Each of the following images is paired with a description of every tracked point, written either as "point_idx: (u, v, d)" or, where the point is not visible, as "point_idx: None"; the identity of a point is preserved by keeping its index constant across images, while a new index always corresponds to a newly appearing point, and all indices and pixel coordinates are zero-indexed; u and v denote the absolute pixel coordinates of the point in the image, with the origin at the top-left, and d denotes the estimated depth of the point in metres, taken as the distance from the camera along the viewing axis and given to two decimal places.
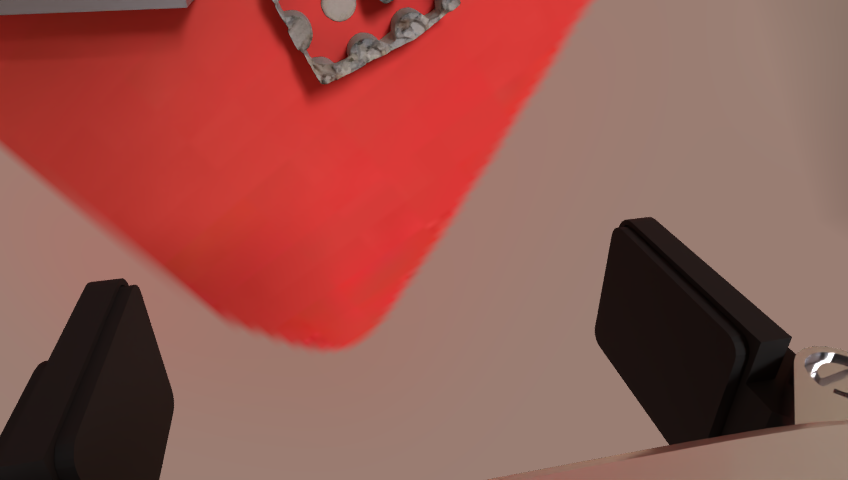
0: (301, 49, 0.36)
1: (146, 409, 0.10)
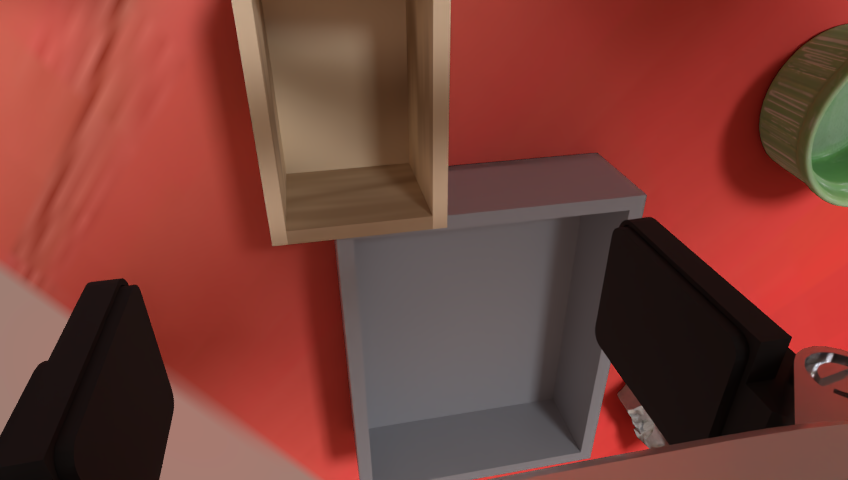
0: (644, 440, 0.41)
1: (146, 409, 0.10)
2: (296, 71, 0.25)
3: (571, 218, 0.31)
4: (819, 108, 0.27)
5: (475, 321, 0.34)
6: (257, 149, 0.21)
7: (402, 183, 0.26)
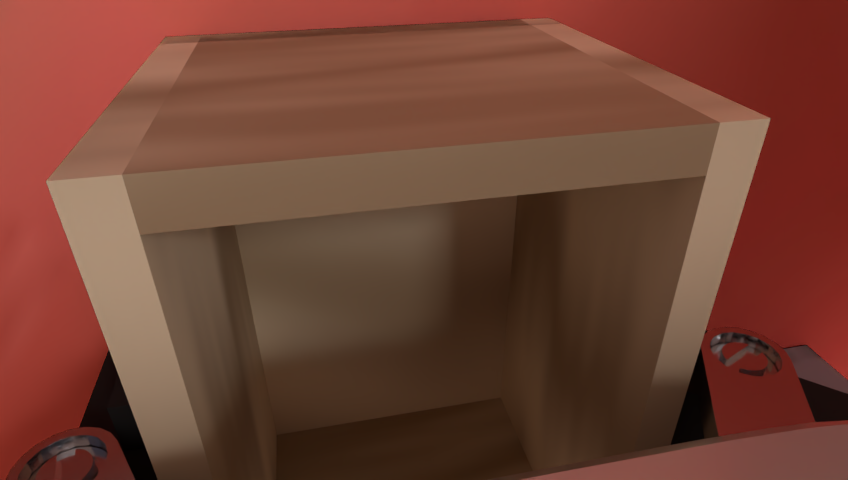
0: None
1: None
2: (295, 273, 0.12)
3: None
4: None
5: None
6: None
7: (501, 469, 0.13)
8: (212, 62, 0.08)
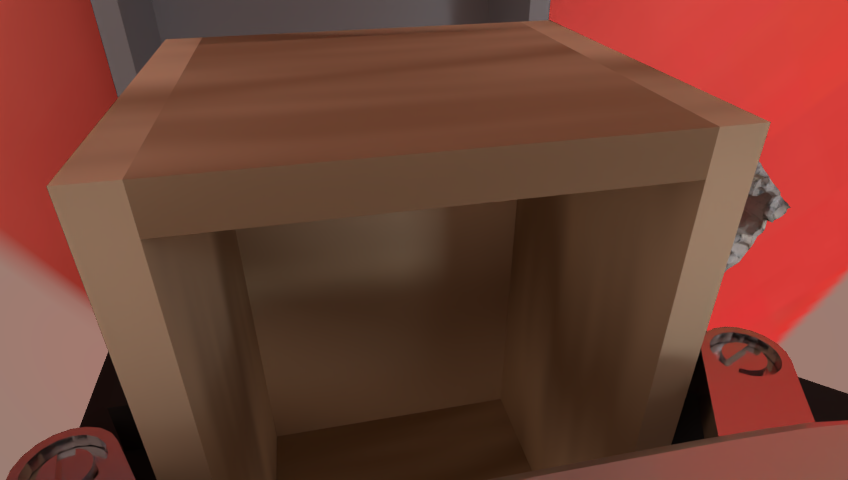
0: None
1: None
2: (295, 275, 0.12)
3: None
4: None
5: None
6: None
7: (501, 471, 0.13)
8: (212, 65, 0.08)
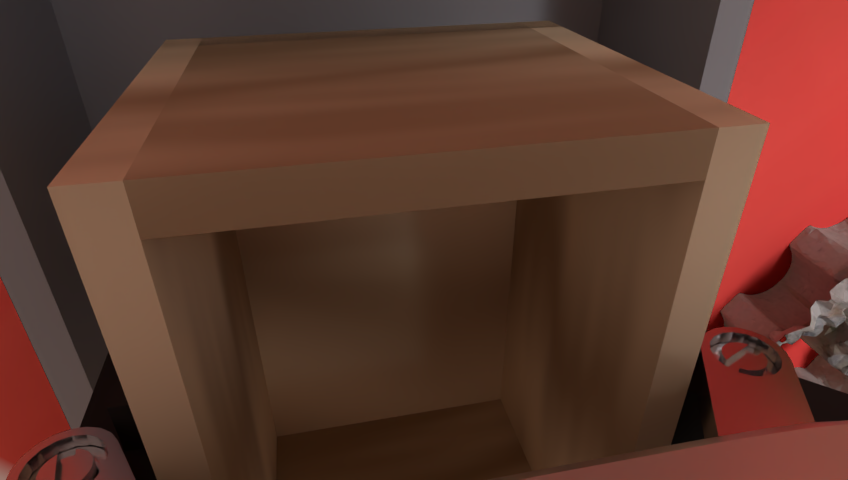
0: None
1: None
2: (295, 275, 0.12)
3: None
4: None
5: None
6: None
7: (501, 471, 0.13)
8: (212, 66, 0.08)
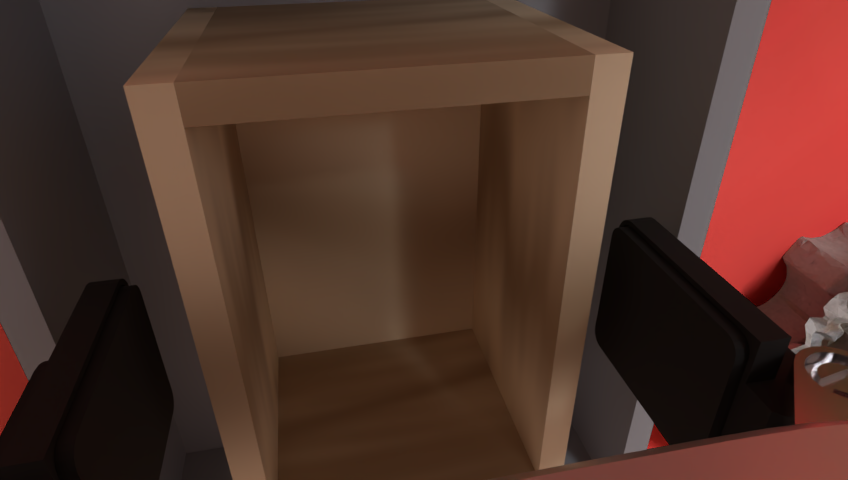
0: None
1: (146, 409, 0.10)
2: (293, 210, 0.15)
3: None
4: None
5: None
6: (218, 419, 0.10)
7: (469, 381, 0.16)
8: (227, 24, 0.11)
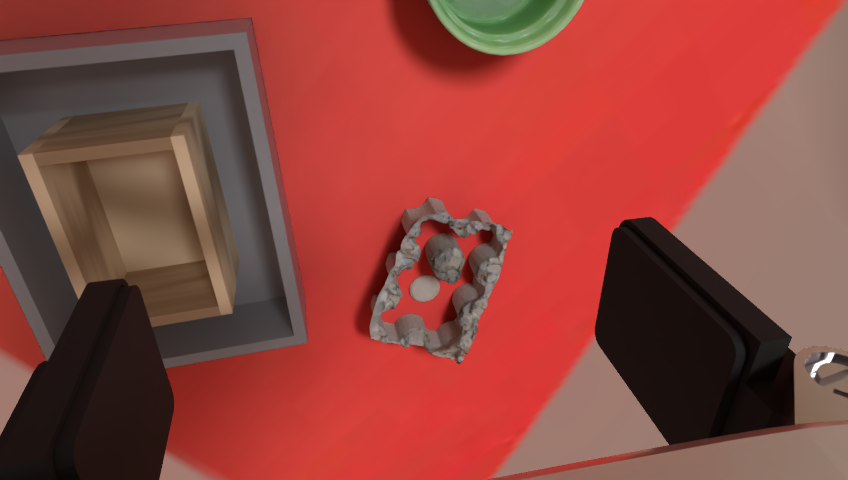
0: (426, 347, 0.41)
1: (146, 409, 0.10)
2: (120, 198, 0.33)
3: (240, 88, 0.32)
4: None
5: None
6: (67, 271, 0.28)
7: None
8: (69, 126, 0.29)
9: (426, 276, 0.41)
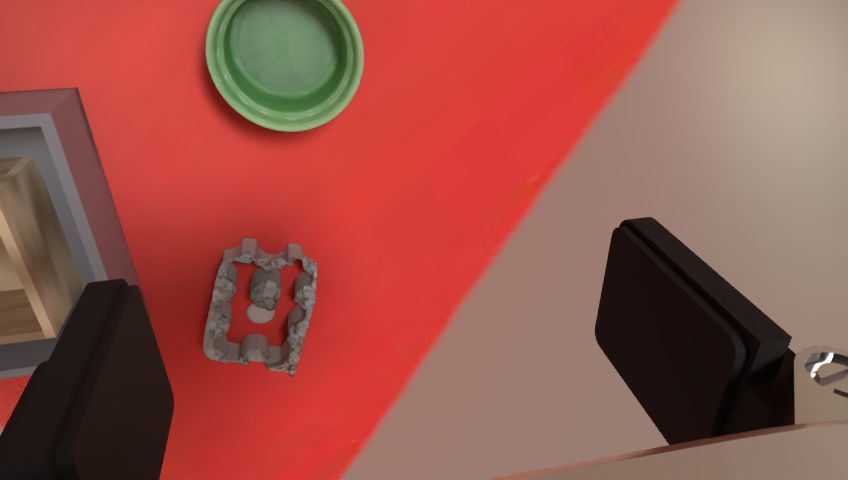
0: (265, 363, 0.47)
1: (146, 409, 0.10)
2: None
3: None
4: (206, 42, 0.33)
5: None
6: None
7: None
8: None
9: None
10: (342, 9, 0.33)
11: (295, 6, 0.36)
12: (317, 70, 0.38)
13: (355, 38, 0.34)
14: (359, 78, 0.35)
